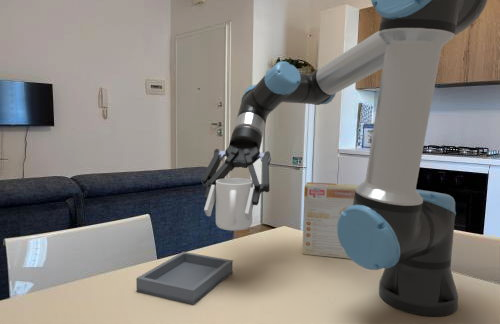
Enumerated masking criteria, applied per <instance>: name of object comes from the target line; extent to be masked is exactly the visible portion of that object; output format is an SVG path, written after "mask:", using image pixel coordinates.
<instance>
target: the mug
mask: <svg viewBox="0 0 500 324" xmlns="http://www.w3.org/2000/svg"><path fill="white" fill-rule="evenodd" d="M250 188H254V184H253V181H252V179H250V178H243V177H225V178H223V179H218V180H216V198H215V224H216V226H217V227H218V228H219V229H221V230H225V231H233V232H234V231H235V232H236V231H243V230H244V231H245V230H247V229H249V228H251V226H252V223H253V213H252V214H251V219H250V220H247V219H246V215H245V210H246V206H247V201H248V197H249V192H250Z"/></svg>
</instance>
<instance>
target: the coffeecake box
mask: <svg viewBox="0 0 500 324" xmlns="http://www.w3.org/2000/svg"><path fill="white" fill-rule="evenodd" d="M358 185H359V184H354V183H353V184H351V183H349V184H348V183H330V182H329V183H327V182H326V183H325V182H306V184H305V185H304V190H303V192H304V194H303V195H304V196H303V225H302V227H303V228H302V229H303V230H302V255H307V256H309V255H311V256H320V257H329V258H330V257H331V258H339V259H346V260H347V259H348V260H351V259H350V258H349V257H348V255H347V254H346V253H345V250H344V248H343V247H342V246H341V244H340V241H339V238H338V233H337V223H338V219H339V217H340V215H341V213H342V212H343V211H345V210H346V209H347V208H348V207H349V206H353V201H354V195H355V189H356V187H357V186H358Z"/></svg>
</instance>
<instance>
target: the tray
mask: <svg viewBox="0 0 500 324" xmlns="http://www.w3.org/2000/svg"><path fill="white" fill-rule="evenodd" d="M233 264H234V263H233V260H231V259H227V258H221V257H216V256H210V255H203V254H199V253H193V252H187V251H182V252H180V253H178V254H177V255H174V256H173V257H171V258H170V259H167V260H166V261H164V262H163V263H161V264H159V265H157V266H155V267H153V268H151V269H150V270H148V271H146V272H145V273H142V274H141V275H139V276H138V277H136V278H135V279H136V281H135V282H136V283H135V284H136V292H137V293H141V294H146V295H149V296H153V297H157V298H161V299H167V300H170V301H174V302H179V303H183V304H188V305H192V306H195V304H196V303H198V302H199V301H200V300H201V299H202V298H203V297H205V296H206V295H207V294H209V292H211V291H212V290H213V289H214V288H215V287H217V286H218V285H219V284H220V283H222V282H223V281H224V280H225V279H226V278H227V277H229V276H230V275H231V274H232V273H233Z"/></svg>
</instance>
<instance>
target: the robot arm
mask: <svg viewBox="0 0 500 324" xmlns="http://www.w3.org/2000/svg"><path fill="white" fill-rule="evenodd" d="M370 2H371V5H372V6H373V7H374V9H375V12H376V13H377V14H378V15H379V16H381V17H380V23H379V30H378V31H376V32H375V33H373V34H371V35H369V36H368V37H367V38H365V39H364V40H362V41H360V42H359V43H358V44H356V45H353V47H351V48H350V49H348V50H346V51H345V52H343V53H342V54H340V55H339V56H337V57H335V58H334V59H333V60H330V61H329V62H328V63H326V64H324V65H323V66H321V67H319V68H318V69H316V70H314V71H313V72H311V73H300V71H299V70H298V68H297V67H296V66H295V65H293V64H290V62H287V61H284V60H281V61H278V62H277V63H275V64H274V66H272V68H270V69H268V71H266V72H265V74H264V76H263V77H262V78H260V80H259V82H258V83H257V84H253V85H249V86H248V87H247V88H246V89H245V90H244V93H243V95H242V97H241V100H240V106H239V109H238V113H237V117H236V120H235V123H234V127H233V131H232V134H231V136H230V139H229V140H230V141H229V145H228V147H227V148H226V149H225V150H220V149H219V148H215V149H214V151H213V157H212V158H211V160H210V162H209V164H208V165H207V167H206V170H205V172H204V173H203V174H202V176H201V178H200V181H201V183H202V186H203V188H204V189H205V194H204V196H203V197H204V199H205V206H204V209H203V210H204V212H205V215H206V216H207V217H211V216H212V211H213V208H214V205H215V203H216V180H218V179H223V178H227V176H228V174H229V173H230V172H232V171H233V170H234V169H235V168H243V169H247V168H248V172H249V174H250V178H251V180H252V181H253V188H250V192H249V197H248V201H247V206H246V210H245V215H246V219H247V220H250V219H251V214H252V215H253V209H254V206H258V205H259V202H260V199H261V198H260V197H261V194H262V193H269V192H270V163H271V161H272V158H271V152H270V151H265V152H261V151H260V150H261V146H262V141H263V136H264V132H265V128H266V123H267V118H268V116H269V114H271V113H272V112H273V111H274V110H275V109H276V108H278V106H279V105H280V104H282V103H293V104H306V105H307V104H308V105H314V106H315V105H316V106H319V105H320V106H321V105H326V104H329V103H331V102H332V101H333V99H334V98H335V96H336V94H337V93H339V92H341V91H343V90H344V89H346V88H348V87H351V86H352V85H354V84H355V83H357V82H359V81H362V80H364V79H365V78H367V77H369V76H370V75H373V74H374V73H376V72H378V71H380V70H382V71H381V78H380V85H379V91H378V97H377V104H376V110H375V116H374V123H373V127H372V128H373V131H372V135H371V142H370V149H369V155H368V161H367V168H366V174H365V179H364V180H363V182H361V183H360V184H357V185H358V186H357V187H356V189H355V195H354V201H353V206H349V207H348V208H347V209H346V210H345V211H343V212H342V213H341V215H340V217H339V219H338V223H337V233H338V238H339V241H340V244H341V246H342V247H343V248H344V250H345V253H346V254H347V255H348V257H349V258H350V259H349V260H351V261H352V262H353V263H355V265H357V266H360V267H361V268H364V269H367V270H372V271H373V270H374V271H376V270H382V269H384V270H383V273H382V275H381V277H380V279H379V283H378V284H379V285H378V294H379V297H381V299H382V300H383V301H384V302H385V303H386V304H388V305H390V306H392V307H393V308H395V309H396V308H397V309H398V310H401V311H403V312H406V313H410V314H413V315H414V314H415V315H419V316H427V317H444V316H449V315H453V314H454V313H455V312H456V311H457V310H458V307H459V305H458V304H459V294H458V290H457V288H456V287H457V286H456V283H455V280H454V277H453V274H452V267H451V266H452V252H453V244H454V233H455V232H454V231H455V222H456V215H457V212H456V201H455V199H454V197H453V196H451V195H450V194H447V193H441V192H436V191H430V190H423V189H417V184H418V180H419V179H418V178H419V172H420V166H421V162H422V157H423V151H424V146H425V140H426V135H427V129H428V123H429V119H430V118H429V117H430V115H431V108H432V103H433V98H434V97H433V96H434V92H435V87H436V86H435V85H436V81H437V76H438V71H439V64H440V61H441V60H440V58H441V53H442V49H443V47H444V46H445V45H446V44H447V43H448V42H450V41H451V40H452V39H454V38H455V36H457V35H459V34H460V33H462V32H463V31H465V30H466V29H468V28H469V27H470V26H471V25H472V24H473V23H475V22H476V21H477V19H478V18H480V15H481V14H482V13H483V11H484V10H485V8H486V6H487V3H488V0H370ZM225 157H226V159H224V158H225ZM259 159H260V161H261V163H262V166H261V167H262V183H260V182H259V179H258V178H259V177H258V176H257V172H256V168H255V166H254V164H255V163H256V162H257V161H258V160H259ZM221 161H223V162H224V163H223V164H221ZM220 165H221V166H220Z"/></svg>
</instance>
